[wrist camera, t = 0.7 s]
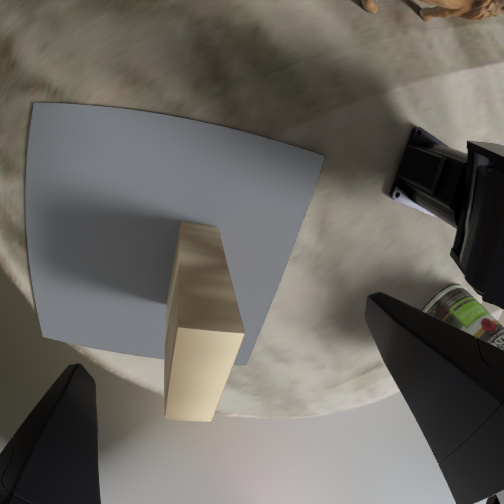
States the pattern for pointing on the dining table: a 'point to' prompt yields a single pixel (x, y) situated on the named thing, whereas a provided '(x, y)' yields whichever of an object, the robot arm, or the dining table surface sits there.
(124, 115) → the rubber mat
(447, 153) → the robot arm
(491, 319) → the coffee can
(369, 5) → the lion figurine
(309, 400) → the dining table surface
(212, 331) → the maple tile
